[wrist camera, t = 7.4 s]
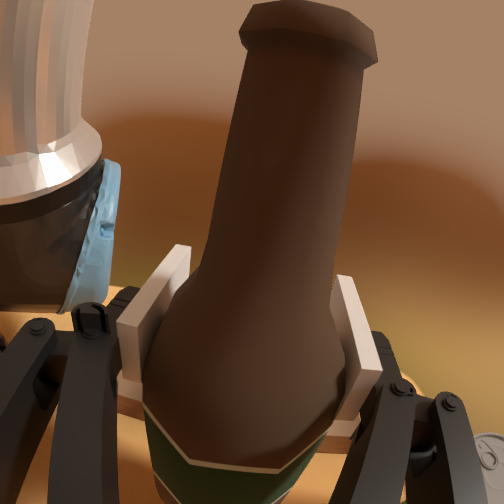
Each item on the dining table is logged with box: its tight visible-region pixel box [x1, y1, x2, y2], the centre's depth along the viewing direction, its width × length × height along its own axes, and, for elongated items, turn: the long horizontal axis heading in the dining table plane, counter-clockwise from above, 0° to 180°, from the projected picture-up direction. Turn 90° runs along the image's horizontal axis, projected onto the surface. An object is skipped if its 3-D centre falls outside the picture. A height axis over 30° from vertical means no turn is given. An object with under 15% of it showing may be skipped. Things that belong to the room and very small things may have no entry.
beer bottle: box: [142, 0, 378, 504], centre depth 12 cm, size 8×8×24 cm
